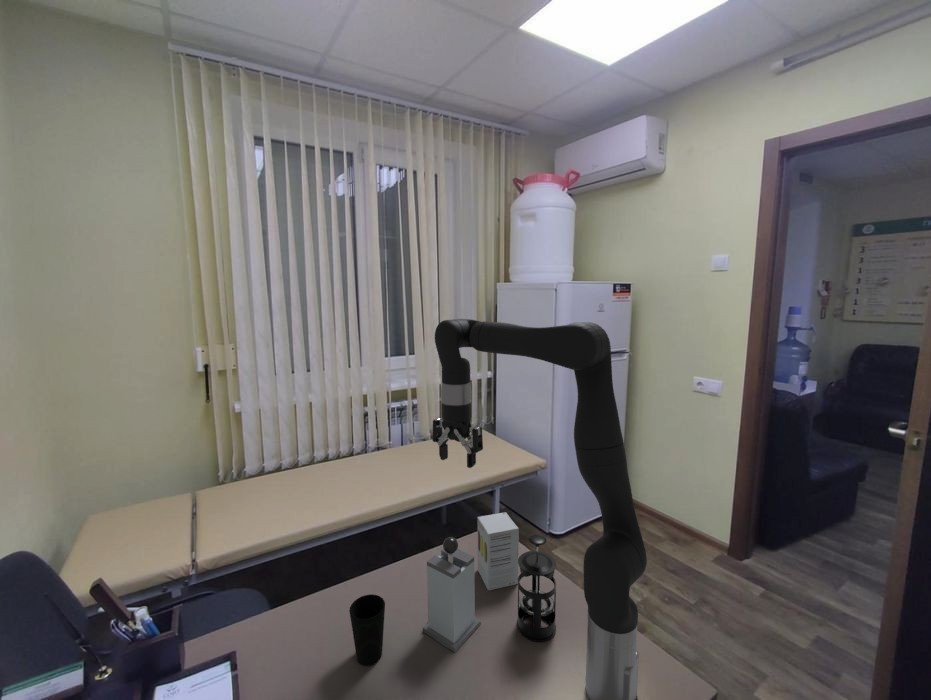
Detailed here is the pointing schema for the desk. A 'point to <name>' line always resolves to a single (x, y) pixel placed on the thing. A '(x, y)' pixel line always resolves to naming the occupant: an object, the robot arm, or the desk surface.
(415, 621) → the desk surface
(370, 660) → the cup
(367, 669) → the desk surface
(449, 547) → the plunger
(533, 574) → the french press
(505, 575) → the supplement box
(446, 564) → the slotted square pillar
